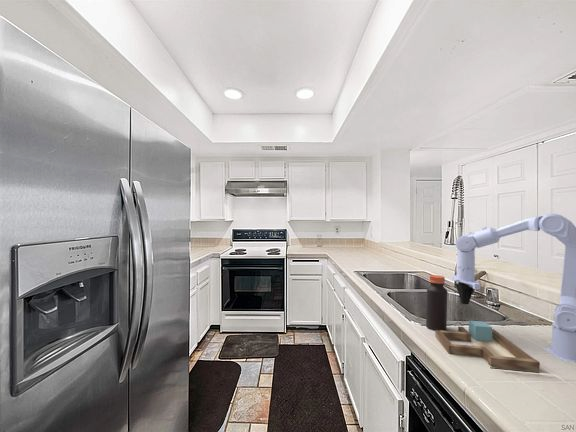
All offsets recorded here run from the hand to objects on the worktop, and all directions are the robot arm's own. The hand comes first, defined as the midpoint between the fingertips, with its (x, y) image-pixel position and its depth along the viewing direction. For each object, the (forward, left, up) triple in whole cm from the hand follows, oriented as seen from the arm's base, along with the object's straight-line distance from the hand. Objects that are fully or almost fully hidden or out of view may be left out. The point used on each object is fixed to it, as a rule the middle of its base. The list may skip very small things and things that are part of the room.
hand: (464, 303), depth 106 cm
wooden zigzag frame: (+3, +17, -10) cm, 20 cm away
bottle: (+10, +2, -10) cm, 15 cm away
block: (-2, +9, -9) cm, 13 cm away
